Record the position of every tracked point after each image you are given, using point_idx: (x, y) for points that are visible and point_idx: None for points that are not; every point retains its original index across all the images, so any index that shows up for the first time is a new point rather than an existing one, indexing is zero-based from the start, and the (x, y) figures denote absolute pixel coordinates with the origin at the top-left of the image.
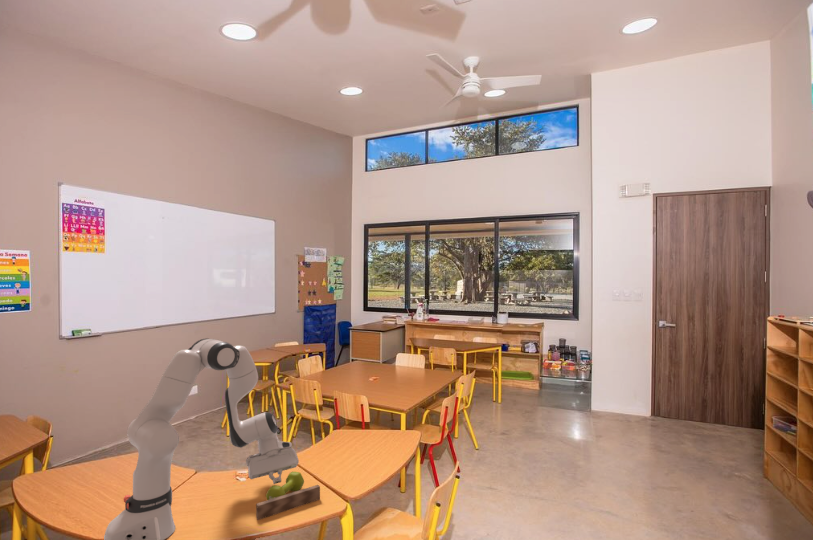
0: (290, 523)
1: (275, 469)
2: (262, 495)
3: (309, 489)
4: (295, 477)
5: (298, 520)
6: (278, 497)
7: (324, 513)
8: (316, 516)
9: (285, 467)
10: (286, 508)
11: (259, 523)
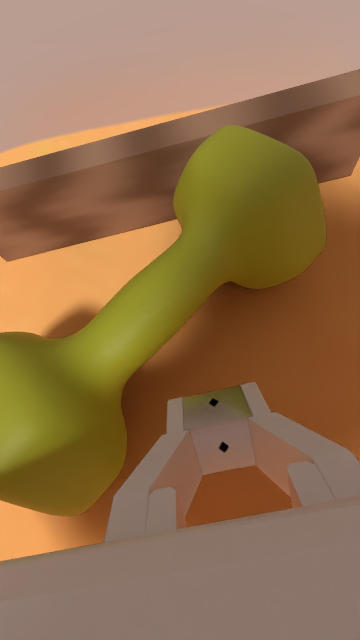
0: (186, 113)
1: (249, 516)
2: (350, 444)
3: (16, 166)
4: (17, 339)
5: (152, 123)
6: (229, 122)
7: (47, 142)
8: (81, 132)
9: (11, 569)
10: None
11: None
